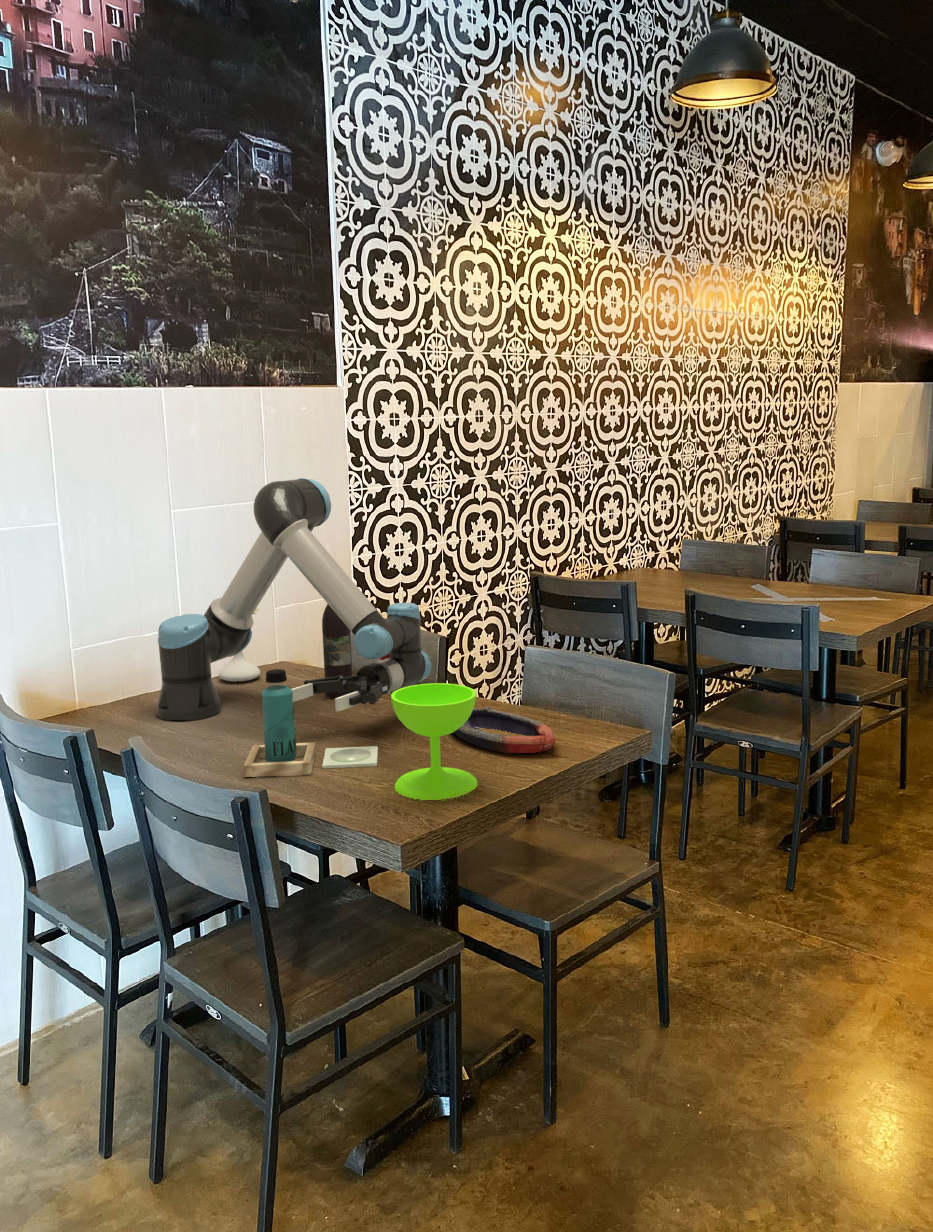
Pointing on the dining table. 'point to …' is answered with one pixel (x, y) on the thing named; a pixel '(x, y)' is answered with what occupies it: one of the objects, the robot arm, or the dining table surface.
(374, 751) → the coaster
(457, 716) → the wineglass
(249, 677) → the flower in vase
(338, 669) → the wine bottle
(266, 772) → the square wooden frame
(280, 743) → the beverage bottle
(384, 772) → the dining table surface
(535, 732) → the dish
